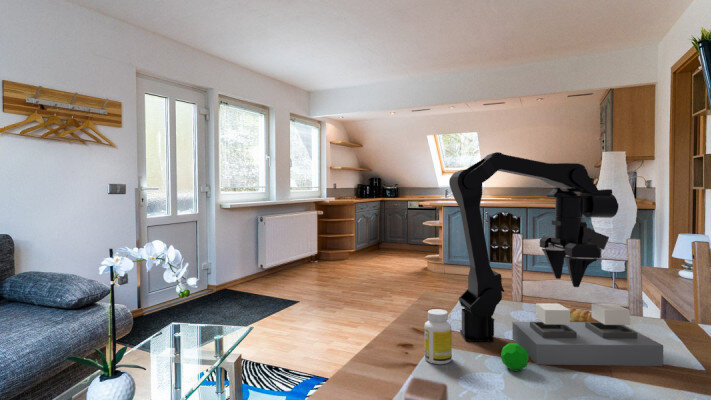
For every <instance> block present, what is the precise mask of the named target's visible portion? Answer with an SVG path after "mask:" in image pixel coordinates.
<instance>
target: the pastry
mask: <svg viewBox="0 0 711 400" xmlns="http://www.w3.org/2000/svg"><path fill="white" fill-rule="evenodd" d="M568 309H569V310H570V322H599V321H597V320H595V319H594V318H592V311H590V310H587V309H585V310H584V309H581V308H580V309H577V308H573V307H569V308H568Z"/></svg>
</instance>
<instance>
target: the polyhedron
mask: <svg viewBox="0 0 711 400" xmlns="http://www.w3.org/2000/svg"><path fill="white" fill-rule="evenodd" d="M529 358H530V357H529V355H528V353H527V350H525V349H524V348H523V347H521V346H520V345H519V344H517V343H516V342H509V343H507V344H505V345H504V346H503V347H502V349H501V353H500V359H501V362H502V364H503V365H505V366H506V367H507V368H508V369H510V371H514V370H518V371H519V372H520V371H523V370H524V369H525V368H527V366H528V363H529Z"/></svg>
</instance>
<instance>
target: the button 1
mask: <svg viewBox="0 0 711 400" xmlns="http://www.w3.org/2000/svg"><path fill="white" fill-rule="evenodd" d="M569 309H570V308H567V307H565V306H563V305H562V304H560V303H535V318H536V319H538V321H539V322H543V323H544V324H560V325H570V310H569Z"/></svg>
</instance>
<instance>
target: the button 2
mask: <svg viewBox="0 0 711 400" xmlns="http://www.w3.org/2000/svg"><path fill="white" fill-rule="evenodd" d="M591 312H592V318H594V319H595V320H597V321H599V322H601V323H603V324H604V325H625V326H630V324H631V311H630V309H627V308H625V307H623V306H622V305H619V304H616V303H591Z"/></svg>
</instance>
